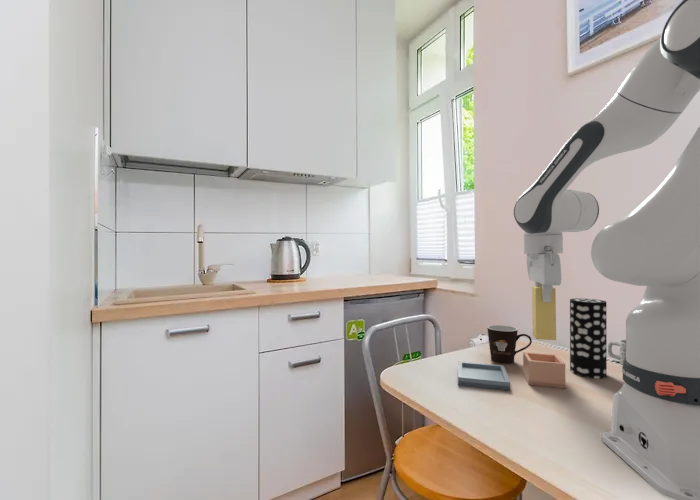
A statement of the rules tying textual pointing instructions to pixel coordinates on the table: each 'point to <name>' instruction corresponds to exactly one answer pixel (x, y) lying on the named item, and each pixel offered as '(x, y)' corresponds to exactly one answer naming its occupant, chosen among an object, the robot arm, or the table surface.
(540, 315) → the peg
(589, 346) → the white-spotted black cylinder
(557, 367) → the pink open box
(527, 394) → the table surface
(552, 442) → the table surface
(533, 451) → the table surface
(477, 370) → the tray
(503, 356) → the coffee mug
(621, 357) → the mug
